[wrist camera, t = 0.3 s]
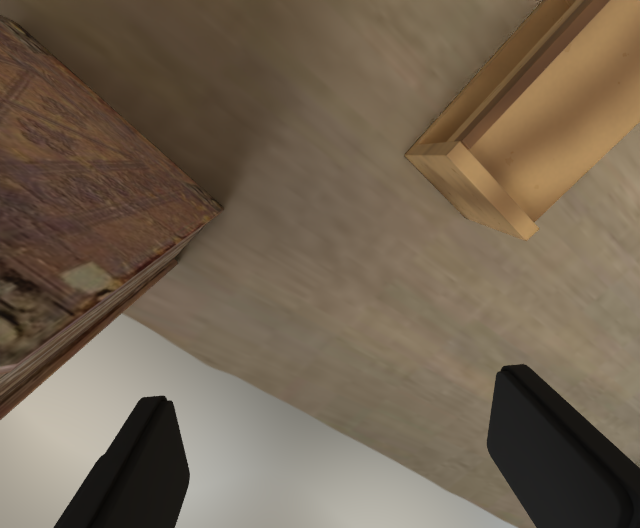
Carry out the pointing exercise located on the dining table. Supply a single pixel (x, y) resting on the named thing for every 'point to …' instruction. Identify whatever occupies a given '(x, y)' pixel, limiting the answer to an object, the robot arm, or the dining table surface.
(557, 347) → the dining table surface
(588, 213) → the dining table surface
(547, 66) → the tray
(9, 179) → the book
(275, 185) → the dining table surface
